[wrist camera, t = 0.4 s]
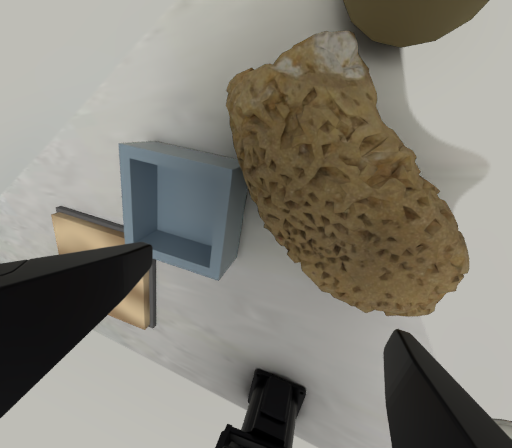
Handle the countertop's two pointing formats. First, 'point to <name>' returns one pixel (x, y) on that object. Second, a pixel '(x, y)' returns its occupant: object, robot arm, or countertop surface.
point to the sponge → (342, 181)
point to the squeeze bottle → (410, 18)
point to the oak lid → (96, 236)
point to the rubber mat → (121, 228)
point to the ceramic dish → (183, 205)
